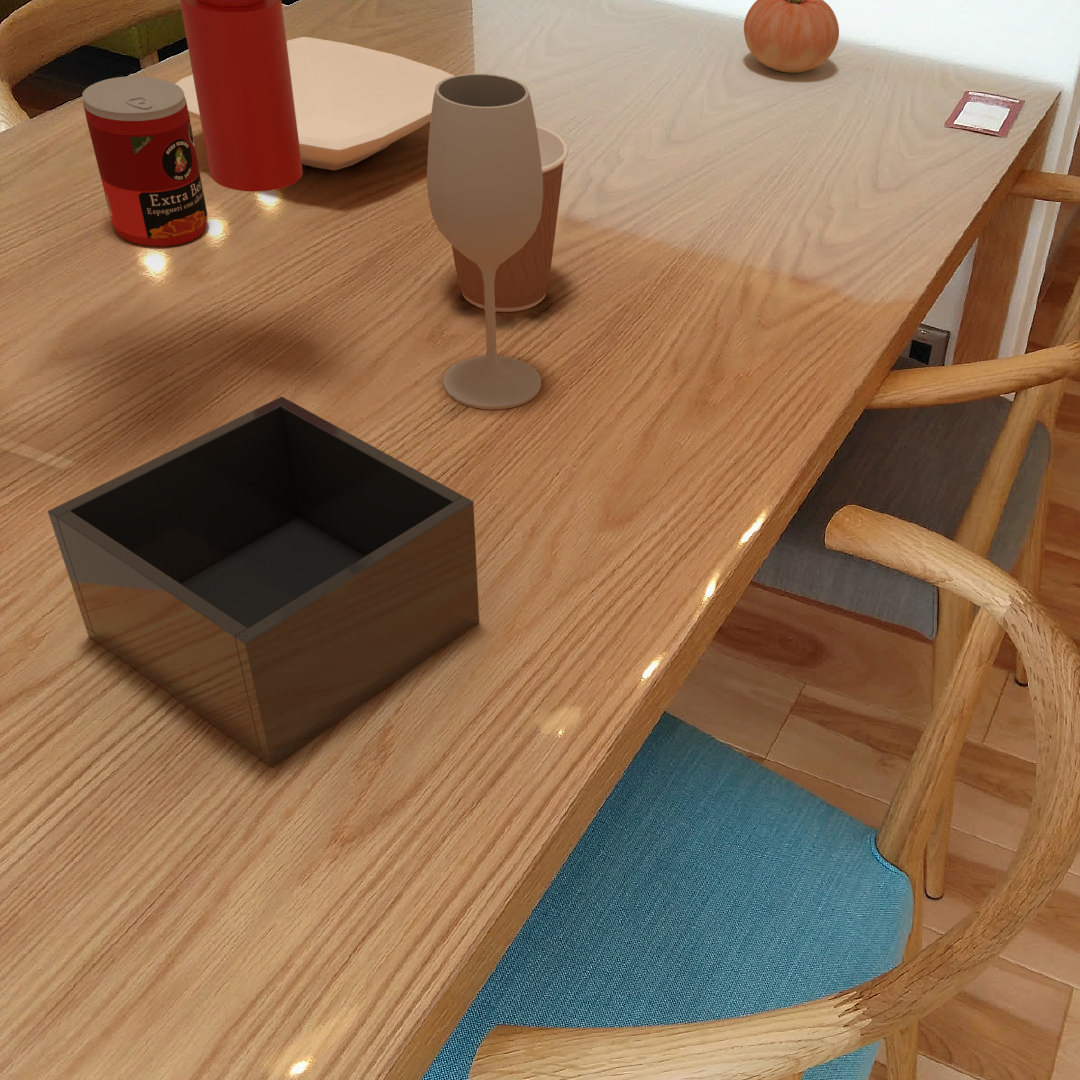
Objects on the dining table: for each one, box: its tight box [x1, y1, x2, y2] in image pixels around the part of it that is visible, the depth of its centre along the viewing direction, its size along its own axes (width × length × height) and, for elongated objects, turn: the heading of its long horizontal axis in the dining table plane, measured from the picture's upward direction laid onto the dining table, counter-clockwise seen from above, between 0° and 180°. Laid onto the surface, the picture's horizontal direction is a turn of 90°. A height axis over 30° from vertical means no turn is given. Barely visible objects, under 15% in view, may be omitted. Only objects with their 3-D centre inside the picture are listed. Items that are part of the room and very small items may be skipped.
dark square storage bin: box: [47, 396, 480, 768], centre depth 73 cm, size 16×16×9 cm
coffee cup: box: [451, 124, 569, 313], centre depth 103 cm, size 10×10×12 cm
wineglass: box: [426, 73, 543, 411], centre depth 90 cm, size 8×8×21 cm
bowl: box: [174, 36, 455, 171], centre depth 123 cm, size 22×23×6 cm
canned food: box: [81, 75, 208, 248], centre depth 107 cm, size 8×8×11 cm
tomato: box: [743, 0, 840, 74], centre depth 148 cm, size 11×11×8 cm
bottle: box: [179, 0, 304, 192], centre depth 82 cm, size 6×6×18 cm
